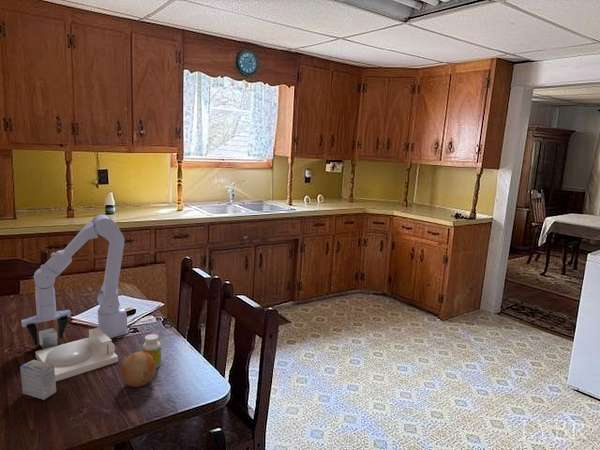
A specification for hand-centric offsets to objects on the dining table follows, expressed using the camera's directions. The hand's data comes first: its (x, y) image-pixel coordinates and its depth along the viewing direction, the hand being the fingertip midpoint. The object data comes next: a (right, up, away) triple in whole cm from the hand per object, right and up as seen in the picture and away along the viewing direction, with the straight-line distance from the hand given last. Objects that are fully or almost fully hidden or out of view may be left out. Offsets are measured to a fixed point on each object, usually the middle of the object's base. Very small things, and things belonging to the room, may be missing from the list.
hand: (48, 340), depth 149 cm
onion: (+38, -8, -20) cm, 44 cm away
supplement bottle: (+39, -6, -9) cm, 40 cm away
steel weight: (0, -2, 0) cm, 2 cm away
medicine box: (+13, -8, -27) cm, 31 cm away
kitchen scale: (+14, -4, -8) cm, 17 cm away
